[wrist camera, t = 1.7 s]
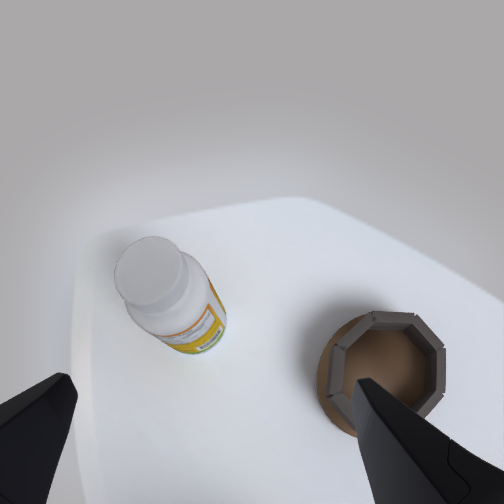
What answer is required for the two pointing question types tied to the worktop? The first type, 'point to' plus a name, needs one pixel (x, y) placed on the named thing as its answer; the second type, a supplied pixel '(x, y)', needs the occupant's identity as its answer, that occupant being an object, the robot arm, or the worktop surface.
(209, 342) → the supplement bottle
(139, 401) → the worktop surface
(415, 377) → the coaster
